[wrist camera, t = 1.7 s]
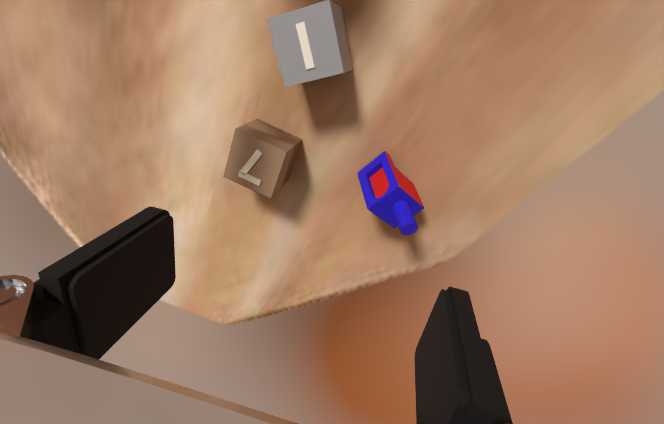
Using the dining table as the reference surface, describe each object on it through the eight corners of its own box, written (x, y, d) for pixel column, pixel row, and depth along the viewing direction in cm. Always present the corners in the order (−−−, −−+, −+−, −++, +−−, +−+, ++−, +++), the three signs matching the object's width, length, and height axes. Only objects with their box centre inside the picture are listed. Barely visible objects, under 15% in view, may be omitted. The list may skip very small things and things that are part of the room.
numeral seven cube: (302, 139, 34) (286, 152, 30) (287, 180, 36) (270, 199, 32) (257, 118, 34) (234, 129, 30) (245, 161, 37) (222, 177, 32)
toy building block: (381, 192, 36) (401, 250, 31) (357, 172, 34) (373, 231, 28) (408, 172, 35) (434, 230, 29) (384, 150, 32) (408, 208, 27)
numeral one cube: (341, 7, 28) (328, -1, 24) (353, 69, 30) (343, 73, 26) (287, 23, 30) (266, 18, 25) (302, 82, 32) (284, 87, 27)
